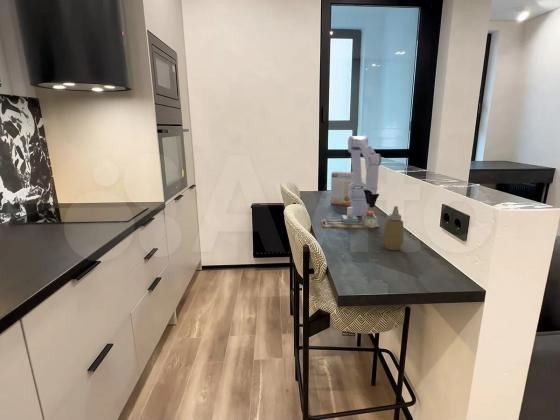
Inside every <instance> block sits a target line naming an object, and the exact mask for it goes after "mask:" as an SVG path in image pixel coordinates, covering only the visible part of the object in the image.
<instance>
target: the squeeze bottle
mask: <svg viewBox="0 0 560 420" xmlns="http://www.w3.org/2000/svg"><path fill="white" fill-rule="evenodd" d="M385 221H386V222H385V226H384V232H383V233H384V234H383V238H382V239H383V244H384V247H385V249H387V250H389V251H390V250H391V251H399V250H400V249H401V248H402V245H403V243H404V238H405V237H404V221H403V220H402V215H401V214H399V207H398V206H396V205H394V207H393V210H392V213H390V214H389V215H388V219H386V220H385Z"/></svg>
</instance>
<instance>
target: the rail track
mask: <svg viewBox="0 0 560 420" xmlns="http://www.w3.org/2000/svg"><path fill="white" fill-rule="evenodd" d="M321 226H322V228H338V229H339V228H347V229H348V228H358V229H359V228H360V229H362V228H363V229H366V228H367V229H369V228H370V229H374V227H379V228H380V225H379V223H377V226H371V225H364V223H363V222H362V219H358V224H344V222H343V220H342V219H326V218H322V220H321Z"/></svg>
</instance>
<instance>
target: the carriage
mask: <svg viewBox="0 0 560 420" xmlns="http://www.w3.org/2000/svg"><path fill="white" fill-rule="evenodd" d="M346 209H347V210H346V215H345V214H342V215H341V220H343V222H344V224H358V220H359V218H358V216H356V215H353V207H350V206H346Z"/></svg>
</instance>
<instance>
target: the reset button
mask: <svg viewBox="0 0 560 420" xmlns="http://www.w3.org/2000/svg"><path fill="white" fill-rule="evenodd" d="M365 213H366V214H367V215H366V217H373V214H375V211H373V210H368V211H366V212H365Z"/></svg>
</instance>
